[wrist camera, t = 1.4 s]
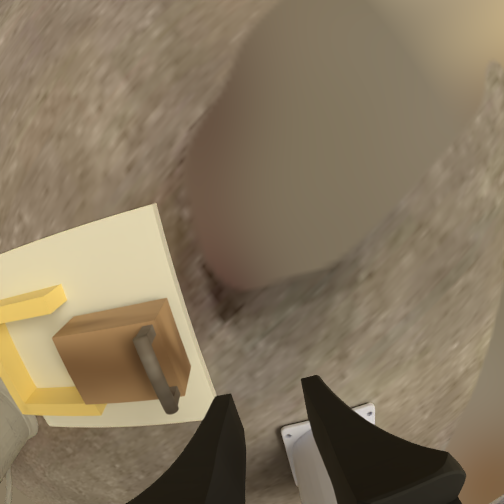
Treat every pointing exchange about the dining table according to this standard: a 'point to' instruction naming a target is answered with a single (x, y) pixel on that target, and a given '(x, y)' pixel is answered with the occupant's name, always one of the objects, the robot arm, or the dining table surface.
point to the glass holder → (12, 435)
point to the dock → (84, 302)
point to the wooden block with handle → (126, 355)
